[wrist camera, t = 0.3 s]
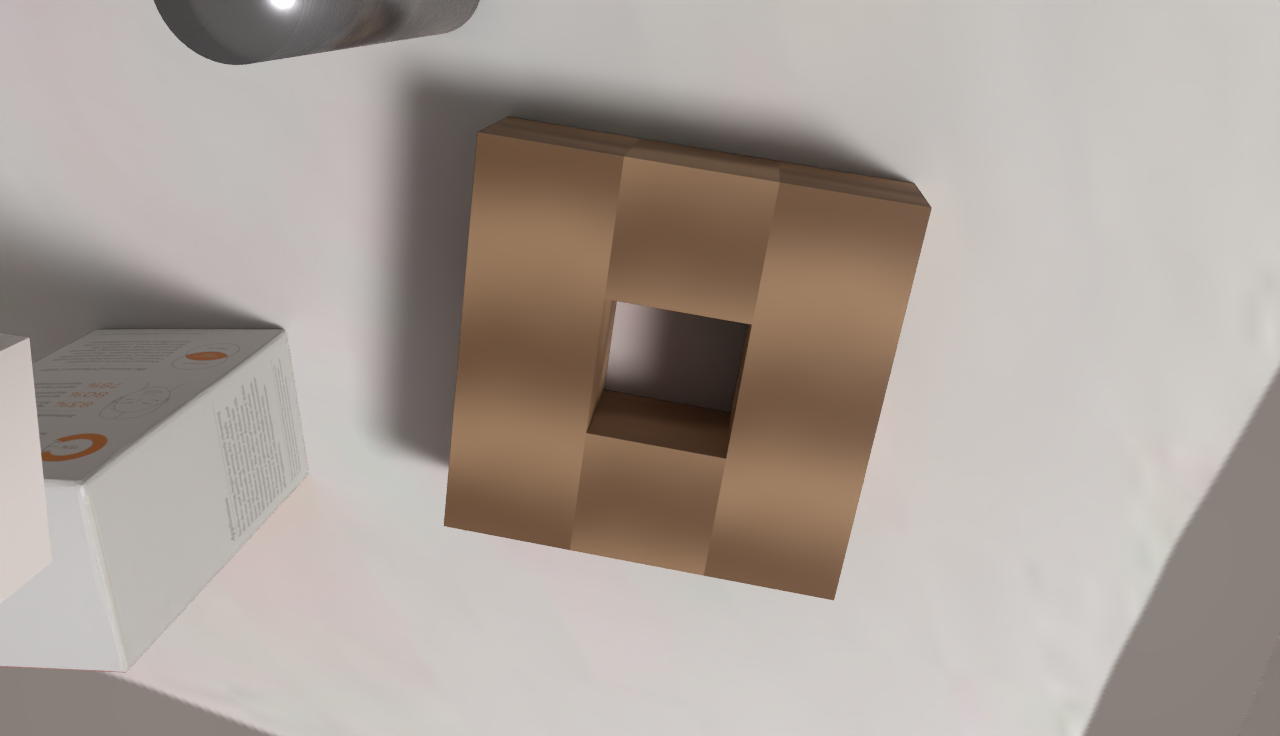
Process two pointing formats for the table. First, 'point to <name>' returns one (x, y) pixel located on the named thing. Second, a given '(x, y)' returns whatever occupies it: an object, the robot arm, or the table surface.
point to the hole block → (689, 283)
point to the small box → (149, 483)
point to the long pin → (304, 25)
